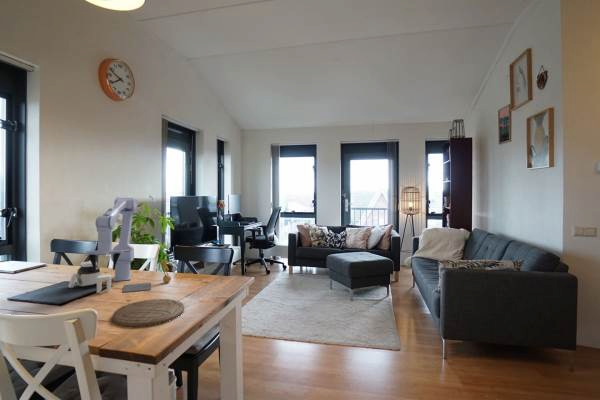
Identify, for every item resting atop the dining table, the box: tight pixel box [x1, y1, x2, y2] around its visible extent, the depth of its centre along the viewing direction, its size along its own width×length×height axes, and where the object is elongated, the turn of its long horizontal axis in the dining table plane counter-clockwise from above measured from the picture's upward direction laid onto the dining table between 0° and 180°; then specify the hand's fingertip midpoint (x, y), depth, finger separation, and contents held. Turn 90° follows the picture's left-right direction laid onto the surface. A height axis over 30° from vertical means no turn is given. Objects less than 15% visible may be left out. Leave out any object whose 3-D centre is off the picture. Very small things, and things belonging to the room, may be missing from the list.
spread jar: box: [68, 260, 101, 289], centre depth 154 cm, size 12×11×12 cm
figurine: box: [157, 259, 173, 284], centre depth 165 cm, size 8×6×12 cm
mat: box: [121, 282, 152, 294], centre depth 154 cm, size 12×12×1 cm
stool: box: [96, 274, 112, 294], centre depth 148 cm, size 5×5×7 cm
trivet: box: [112, 298, 185, 328], centre depth 122 cm, size 25×25×2 cm
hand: (104, 270), depth 148 cm, fingers open, 7 cm apart
